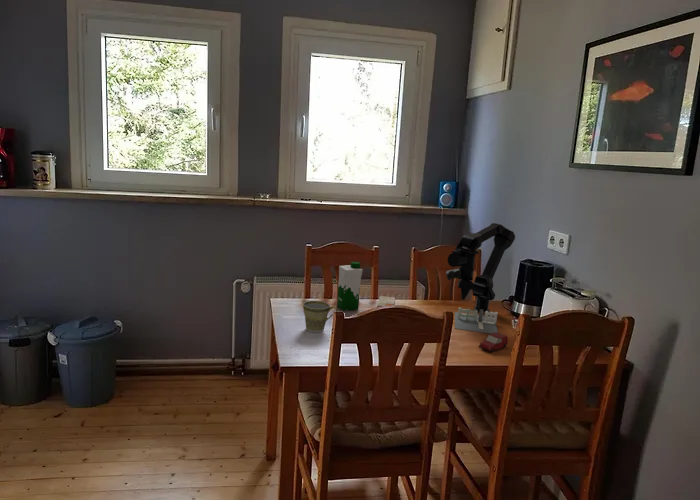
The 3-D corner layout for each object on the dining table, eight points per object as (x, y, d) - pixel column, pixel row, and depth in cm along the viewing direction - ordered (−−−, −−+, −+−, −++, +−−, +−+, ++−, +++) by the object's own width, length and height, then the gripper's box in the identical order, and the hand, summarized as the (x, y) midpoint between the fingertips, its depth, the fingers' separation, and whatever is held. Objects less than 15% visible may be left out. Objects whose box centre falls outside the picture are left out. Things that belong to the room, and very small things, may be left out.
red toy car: (477, 349, 193) (478, 336, 192) (494, 343, 201) (496, 330, 200) (491, 354, 189) (492, 341, 188) (508, 348, 197) (510, 335, 196)
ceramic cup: (302, 334, 193) (304, 308, 191) (300, 324, 202) (302, 300, 200) (337, 335, 195) (339, 309, 193) (334, 325, 204) (336, 301, 202)
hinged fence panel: (476, 319, 224) (477, 309, 223) (476, 320, 223) (478, 310, 222) (457, 317, 225) (458, 307, 224) (457, 318, 224) (458, 308, 223)
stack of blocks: (378, 317, 218) (381, 289, 216) (393, 319, 218) (396, 291, 215) (374, 336, 197) (377, 304, 195) (390, 338, 197) (394, 306, 194)
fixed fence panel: (478, 322, 222) (479, 310, 221) (478, 321, 224) (479, 309, 223) (495, 324, 221) (497, 312, 220) (495, 323, 223) (497, 311, 222)
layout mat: (454, 312, 233) (454, 311, 233) (494, 317, 231) (494, 316, 231) (455, 328, 212) (455, 328, 212) (498, 334, 209) (498, 334, 209)
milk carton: (361, 310, 226) (365, 265, 222) (341, 311, 222) (345, 265, 218) (352, 303, 233) (356, 260, 229) (333, 305, 230) (337, 260, 225)
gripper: (448, 257, 235) (444, 291, 239) (448, 267, 217) (443, 303, 221) (473, 260, 233) (469, 294, 237) (475, 270, 215) (470, 306, 219)
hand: (462, 299), depth 228 cm, fingers closed
